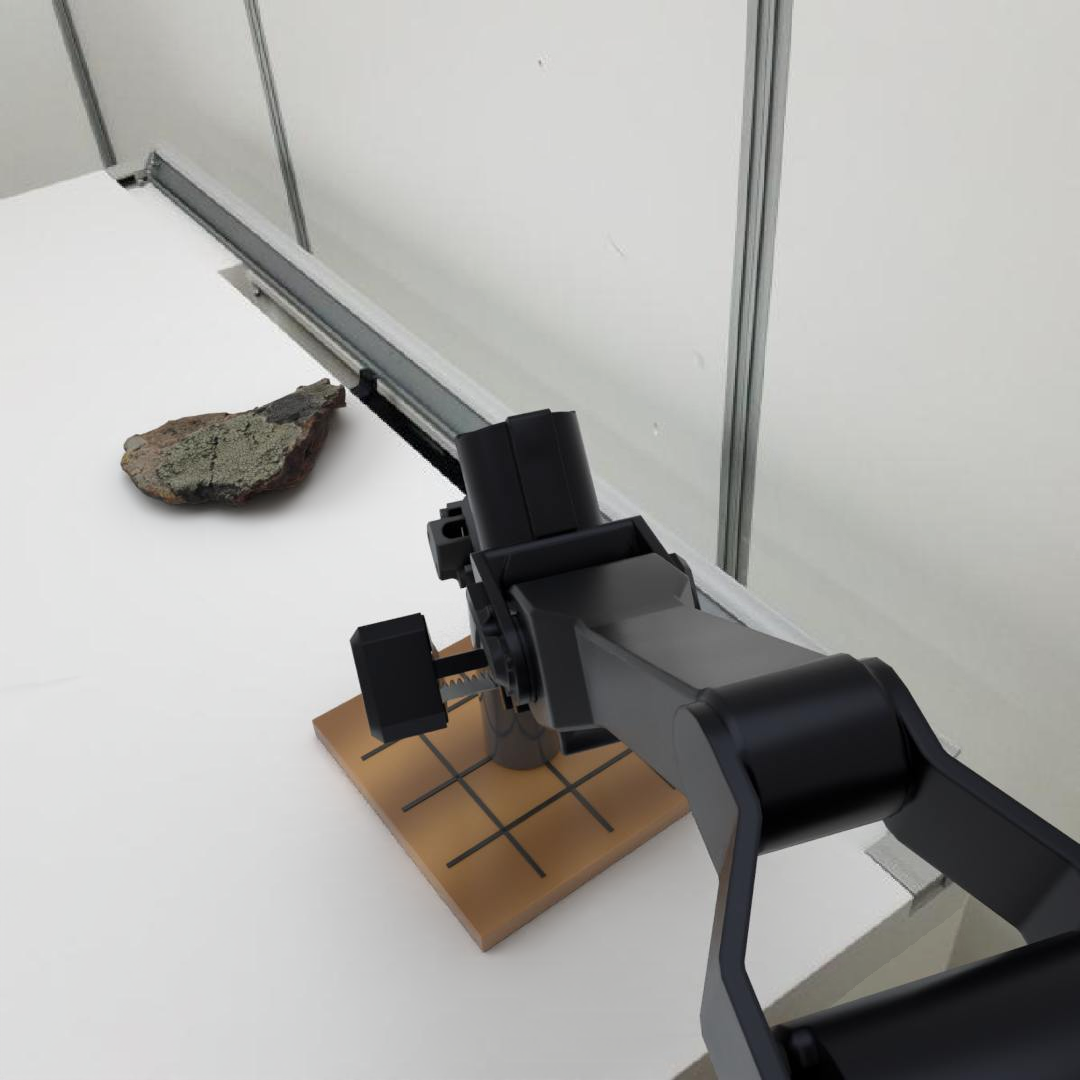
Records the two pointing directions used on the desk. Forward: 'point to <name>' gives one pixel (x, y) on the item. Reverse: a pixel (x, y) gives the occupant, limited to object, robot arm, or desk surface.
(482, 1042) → the desk surface
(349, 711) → the board
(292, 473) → the rock
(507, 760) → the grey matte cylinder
